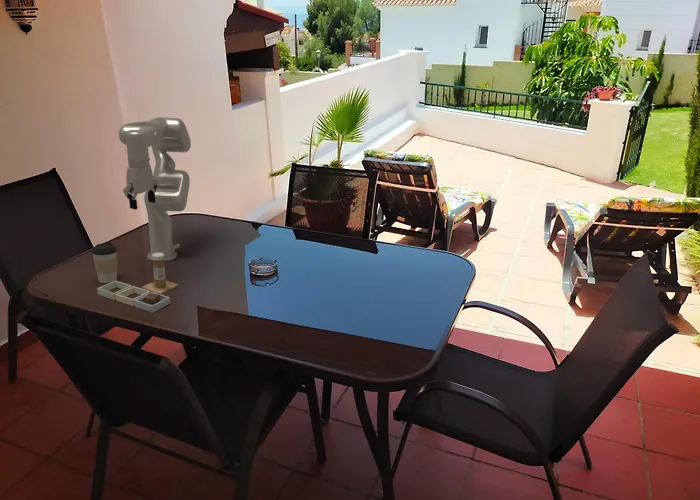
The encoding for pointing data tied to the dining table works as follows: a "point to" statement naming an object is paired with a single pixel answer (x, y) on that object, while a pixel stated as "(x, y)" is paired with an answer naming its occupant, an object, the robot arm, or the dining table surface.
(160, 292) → the coaster
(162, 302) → the tray blue
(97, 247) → the coffee cup
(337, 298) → the dining table surface
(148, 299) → the walnut cube
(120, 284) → the tray sage
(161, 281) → the sprinkles bottle
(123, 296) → the tray cream
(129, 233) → the dining table surface
